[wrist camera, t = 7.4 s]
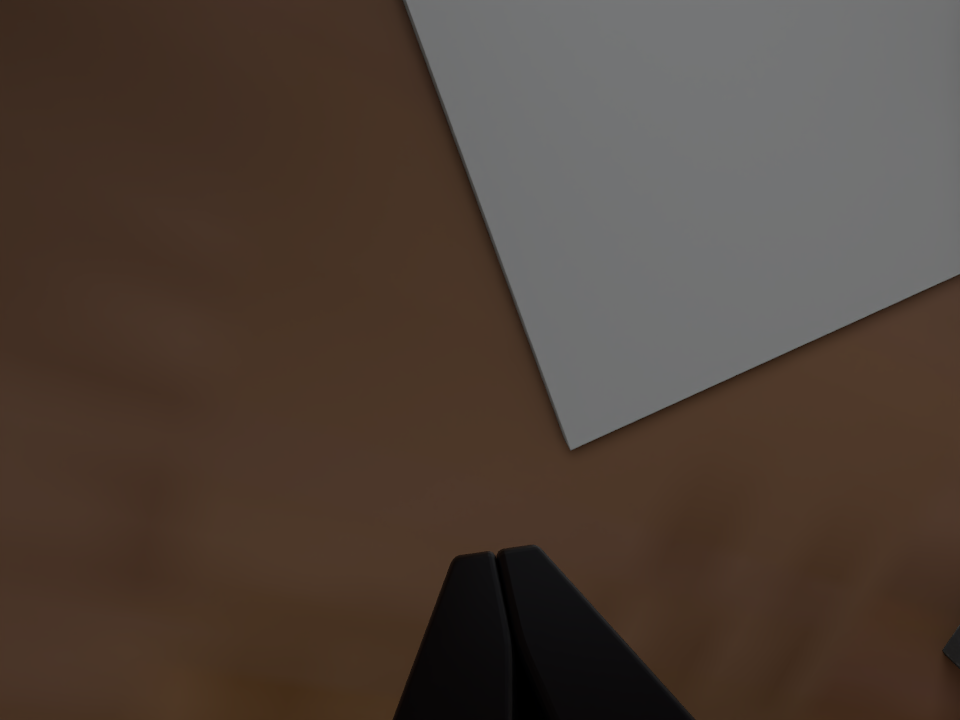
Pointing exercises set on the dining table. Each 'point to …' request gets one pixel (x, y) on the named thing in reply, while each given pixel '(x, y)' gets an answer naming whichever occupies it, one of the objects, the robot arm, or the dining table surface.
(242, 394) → the dining table surface
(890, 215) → the rubber mat
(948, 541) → the dining table surface
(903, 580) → the dining table surface
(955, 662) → the ammunition clip
